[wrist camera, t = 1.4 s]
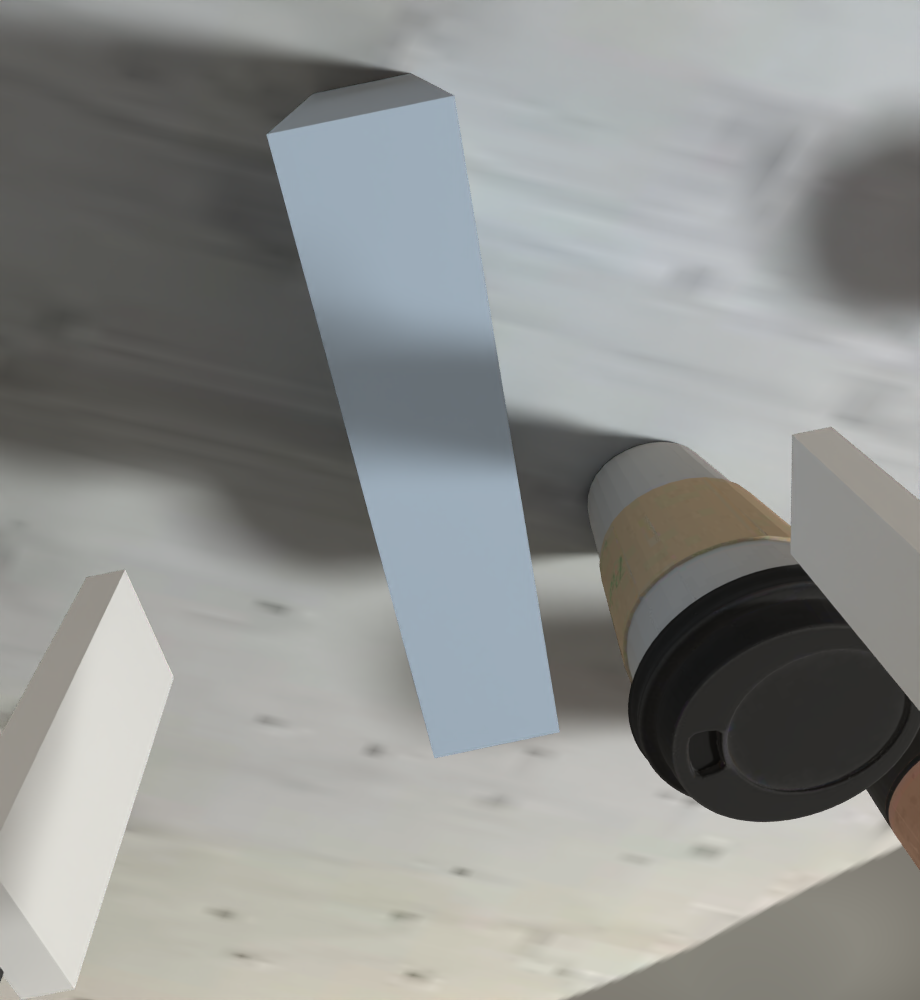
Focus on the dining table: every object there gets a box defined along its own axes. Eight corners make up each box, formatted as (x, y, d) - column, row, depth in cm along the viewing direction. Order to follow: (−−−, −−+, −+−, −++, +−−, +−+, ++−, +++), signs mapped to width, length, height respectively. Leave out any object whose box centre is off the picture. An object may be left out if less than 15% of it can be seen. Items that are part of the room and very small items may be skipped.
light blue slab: (407, 489, 37) (434, 758, 23) (313, 93, 29) (266, 134, 15) (485, 473, 37) (559, 732, 23) (411, 73, 29) (453, 95, 15)
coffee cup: (507, 497, 38) (584, 736, 25) (677, 358, 35) (863, 541, 22) (628, 617, 42) (750, 880, 28) (788, 500, 39) (1002, 726, 26)
